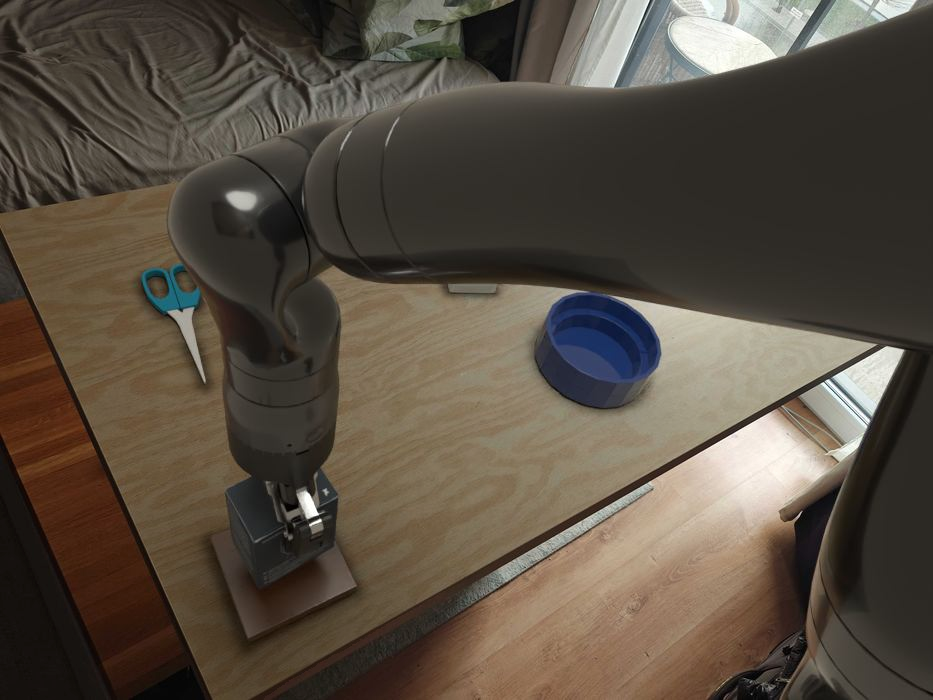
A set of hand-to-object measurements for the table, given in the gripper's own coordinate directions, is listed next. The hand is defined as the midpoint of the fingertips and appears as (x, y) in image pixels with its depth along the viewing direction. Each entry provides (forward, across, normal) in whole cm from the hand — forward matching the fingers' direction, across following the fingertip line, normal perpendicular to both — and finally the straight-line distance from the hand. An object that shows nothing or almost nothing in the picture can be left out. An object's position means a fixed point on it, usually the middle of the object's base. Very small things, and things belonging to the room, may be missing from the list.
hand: (283, 513), depth 58 cm
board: (+12, 0, 0) cm, 12 cm away
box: (+7, 0, 0) cm, 7 cm away
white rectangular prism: (+12, -31, +40) cm, 52 cm away
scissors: (+12, -35, 0) cm, 37 cm away
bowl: (+12, -10, +48) cm, 51 cm away
